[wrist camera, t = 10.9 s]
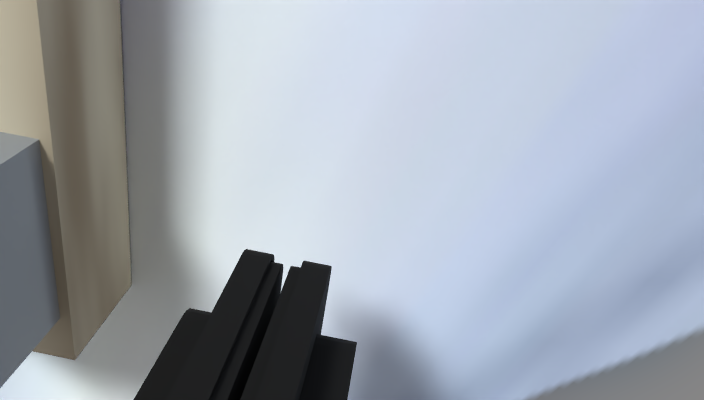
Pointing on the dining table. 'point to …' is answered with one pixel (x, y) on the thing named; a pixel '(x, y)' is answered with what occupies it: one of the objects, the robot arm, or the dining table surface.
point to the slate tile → (24, 253)
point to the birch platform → (73, 149)
